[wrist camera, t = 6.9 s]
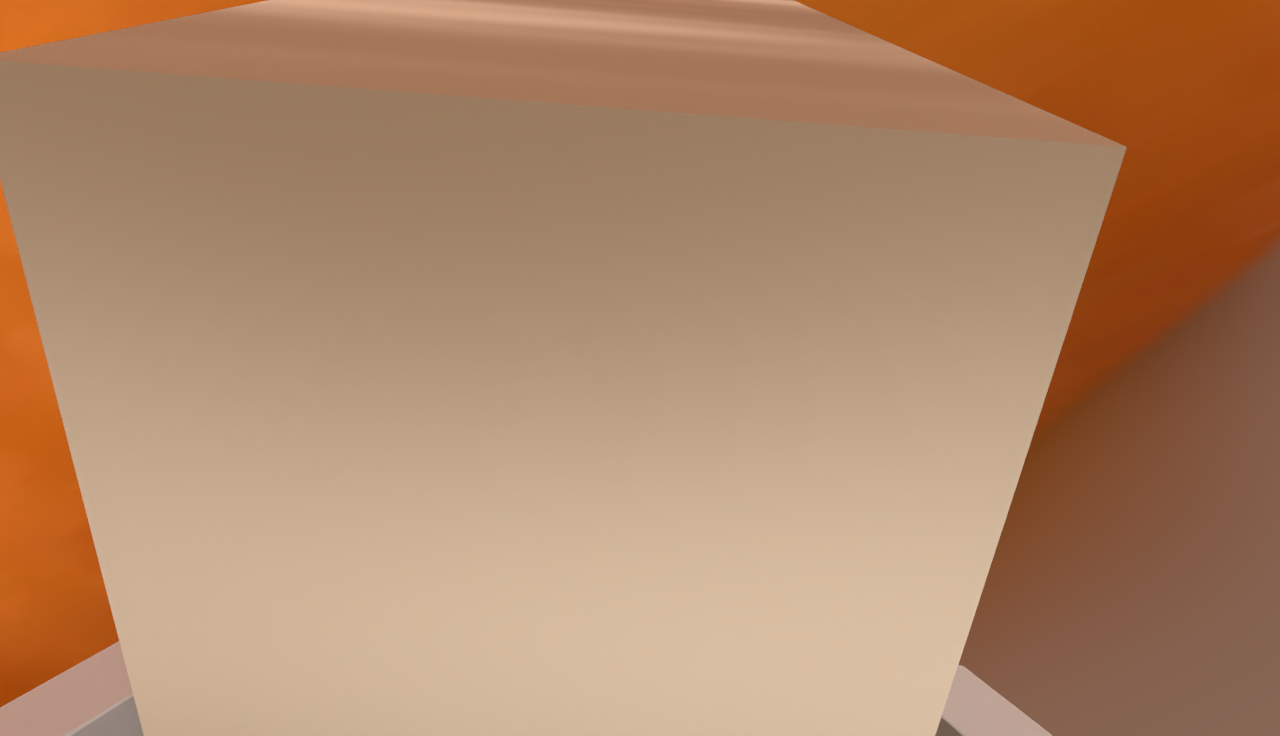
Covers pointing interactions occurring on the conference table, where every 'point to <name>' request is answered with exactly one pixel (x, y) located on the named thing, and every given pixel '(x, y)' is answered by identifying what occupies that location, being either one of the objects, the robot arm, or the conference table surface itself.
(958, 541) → the wooden notched block
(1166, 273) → the conference table surface
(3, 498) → the conference table surface
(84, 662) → the robot arm
